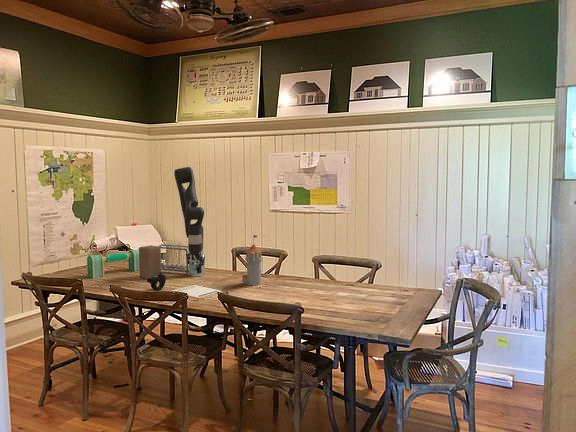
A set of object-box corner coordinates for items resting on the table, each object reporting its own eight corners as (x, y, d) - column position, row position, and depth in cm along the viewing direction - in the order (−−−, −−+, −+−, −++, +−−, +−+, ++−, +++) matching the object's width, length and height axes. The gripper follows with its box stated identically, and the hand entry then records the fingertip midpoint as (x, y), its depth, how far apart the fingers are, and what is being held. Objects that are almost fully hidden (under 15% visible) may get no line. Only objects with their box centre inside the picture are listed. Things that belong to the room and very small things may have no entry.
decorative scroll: (138, 268, 332) (137, 247, 331) (144, 270, 327) (143, 248, 325) (87, 276, 307) (86, 254, 305) (93, 278, 301) (92, 255, 299)
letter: (194, 285, 282) (194, 284, 282) (222, 291, 267) (222, 290, 267) (170, 291, 268) (170, 290, 268) (198, 298, 253) (198, 297, 253)
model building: (259, 286, 277) (258, 236, 275) (239, 286, 280) (239, 235, 277) (265, 281, 291) (264, 233, 288) (246, 280, 293) (245, 232, 291)
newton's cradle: (150, 272, 320) (149, 246, 319) (160, 269, 330) (159, 244, 328) (187, 275, 309) (187, 248, 307) (196, 272, 319) (196, 246, 317)
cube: (196, 271, 270) (195, 263, 269) (202, 273, 267) (201, 264, 266) (189, 273, 266) (189, 264, 265) (195, 274, 263) (194, 265, 262)
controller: (167, 288, 274) (167, 271, 273) (151, 293, 264) (150, 275, 263) (162, 287, 277) (161, 270, 276) (145, 292, 266) (145, 274, 265)
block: (148, 279, 296) (147, 248, 295) (139, 277, 302) (138, 246, 301) (161, 277, 304) (160, 246, 303) (152, 275, 310) (151, 245, 309)
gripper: (208, 243, 263) (209, 273, 265) (191, 240, 272) (192, 269, 274) (198, 244, 258) (199, 275, 259) (181, 242, 266) (182, 272, 268)
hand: (195, 272), depth 266 cm, fingers closed on cube, 5 cm apart
